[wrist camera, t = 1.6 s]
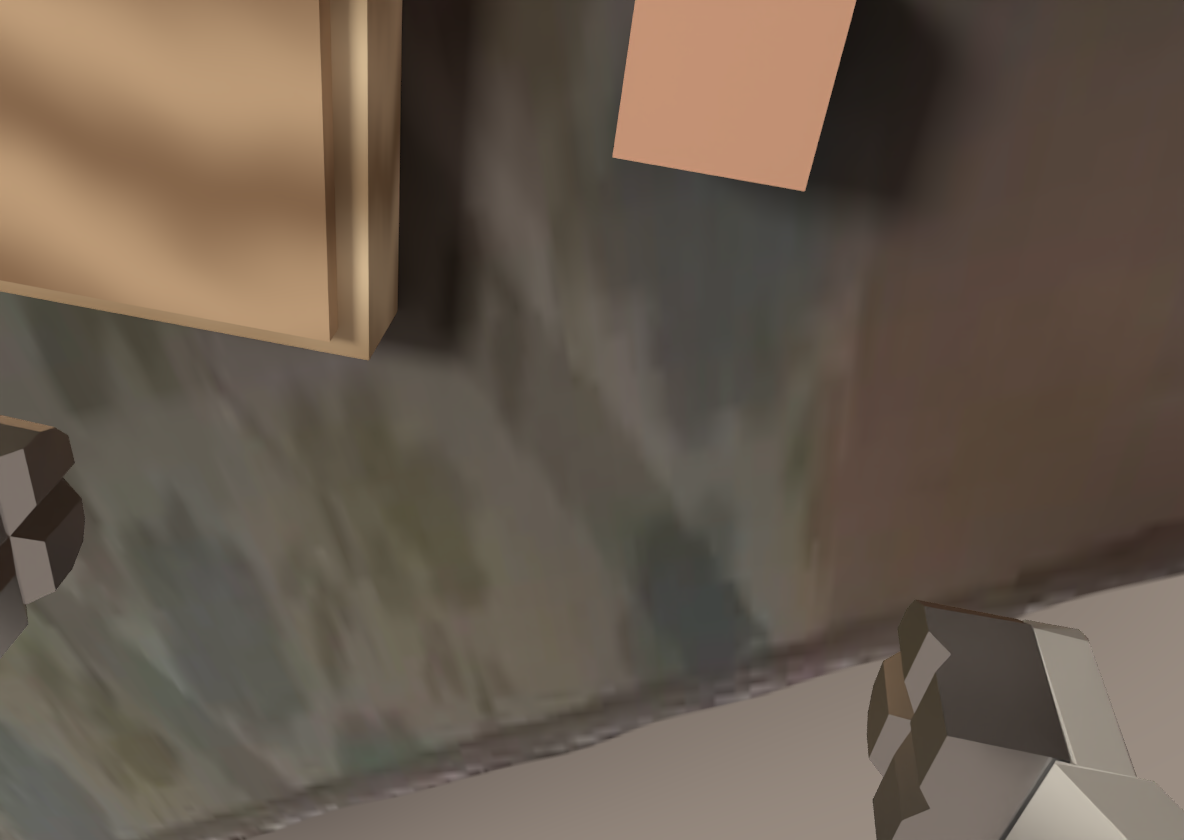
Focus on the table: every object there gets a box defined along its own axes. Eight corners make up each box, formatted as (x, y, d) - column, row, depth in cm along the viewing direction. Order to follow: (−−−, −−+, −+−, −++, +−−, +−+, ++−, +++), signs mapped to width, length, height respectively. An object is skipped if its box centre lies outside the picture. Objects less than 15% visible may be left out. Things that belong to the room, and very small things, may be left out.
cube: (661, -91, 28) (642, -49, 24) (847, -60, 28) (859, -13, 24) (633, 92, 31) (612, 157, 27) (800, 121, 31) (804, 191, 27)
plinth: (-51, -171, 29) (-153, -149, 26) (403, -94, 28) (356, -62, 25) (39, 244, 37) (-31, 300, 34) (397, 310, 36) (361, 373, 33)
